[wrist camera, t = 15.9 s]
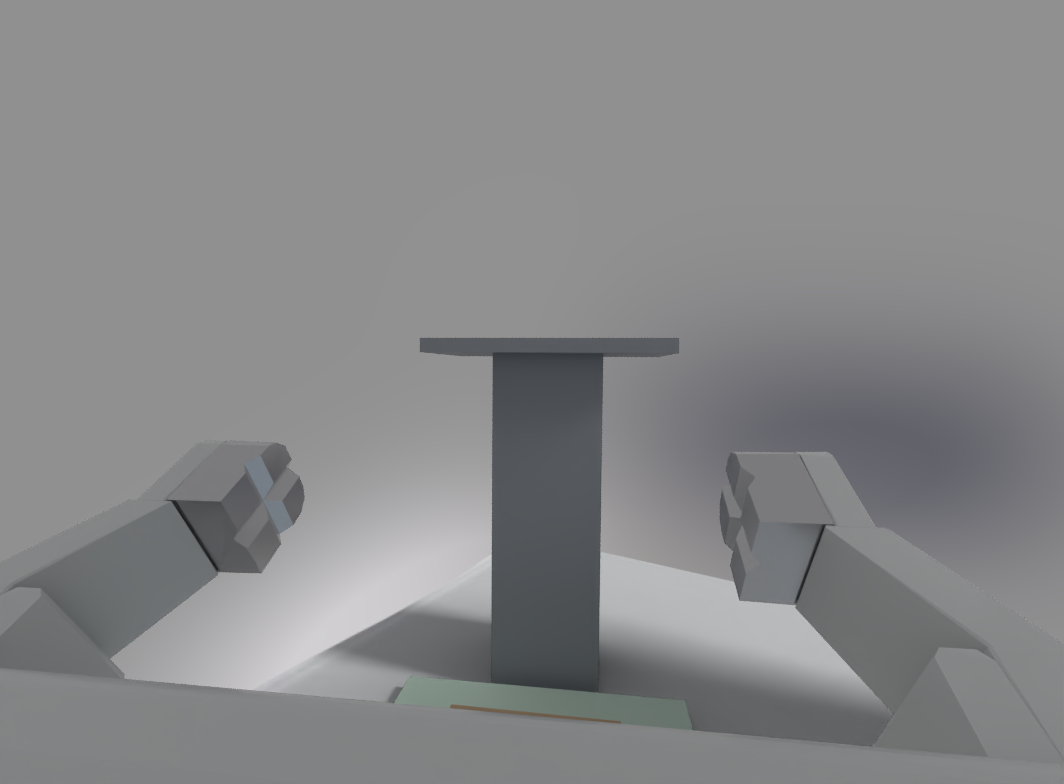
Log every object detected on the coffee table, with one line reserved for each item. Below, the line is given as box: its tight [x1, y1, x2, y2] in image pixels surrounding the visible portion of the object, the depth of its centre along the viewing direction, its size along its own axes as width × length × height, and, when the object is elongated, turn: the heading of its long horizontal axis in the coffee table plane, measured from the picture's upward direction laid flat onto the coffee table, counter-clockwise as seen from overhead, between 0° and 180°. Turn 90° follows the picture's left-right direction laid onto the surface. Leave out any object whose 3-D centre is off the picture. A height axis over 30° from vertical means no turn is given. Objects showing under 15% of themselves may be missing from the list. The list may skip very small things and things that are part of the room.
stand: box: [420, 338, 679, 693], centre depth 41 cm, size 11×18×26 cm, turn 83°
